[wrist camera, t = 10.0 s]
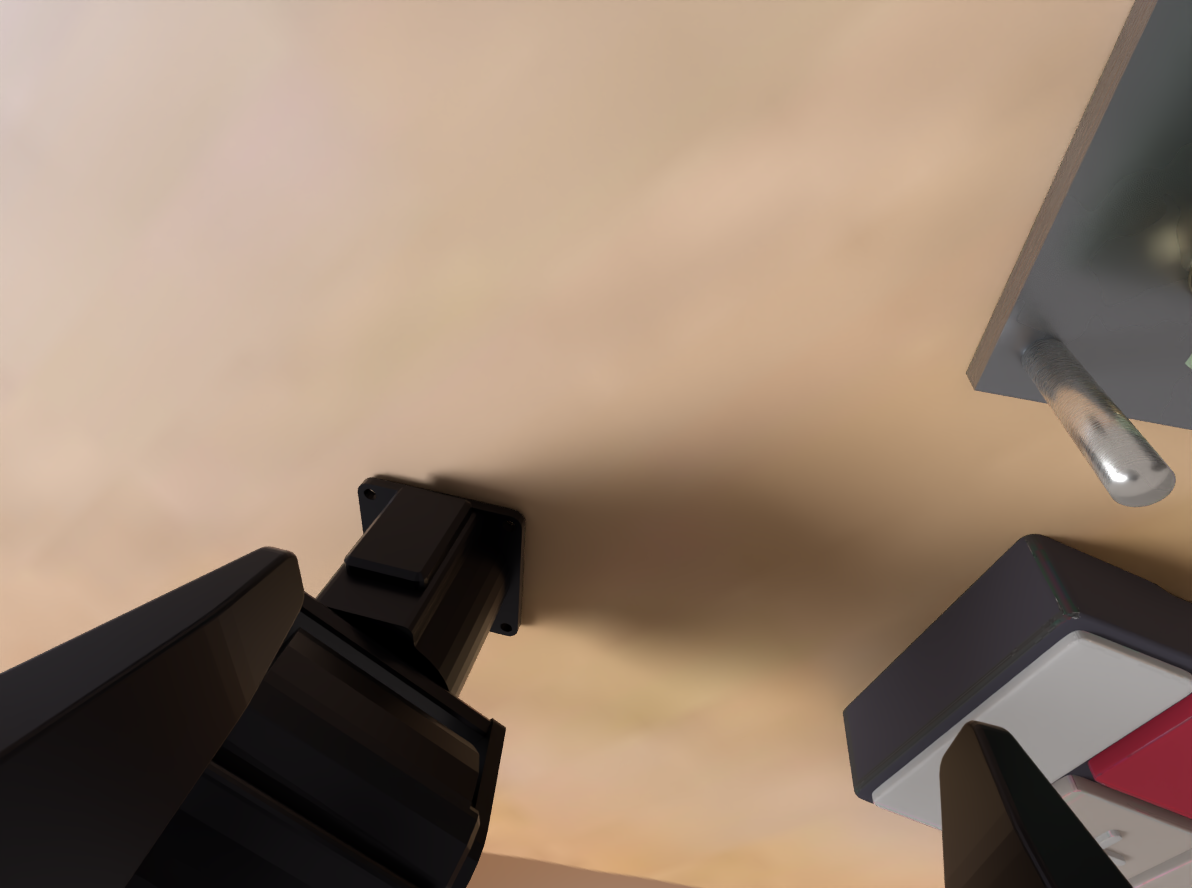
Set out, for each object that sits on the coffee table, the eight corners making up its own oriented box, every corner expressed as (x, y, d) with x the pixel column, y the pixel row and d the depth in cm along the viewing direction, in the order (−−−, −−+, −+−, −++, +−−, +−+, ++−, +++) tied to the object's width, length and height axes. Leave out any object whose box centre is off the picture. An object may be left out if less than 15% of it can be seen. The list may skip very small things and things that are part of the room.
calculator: (1231, 960, 24) (851, 818, 23) (1168, 837, 28) (837, 710, 27) (1589, 832, 18) (1085, 632, 17) (1449, 694, 21) (1026, 524, 21)
